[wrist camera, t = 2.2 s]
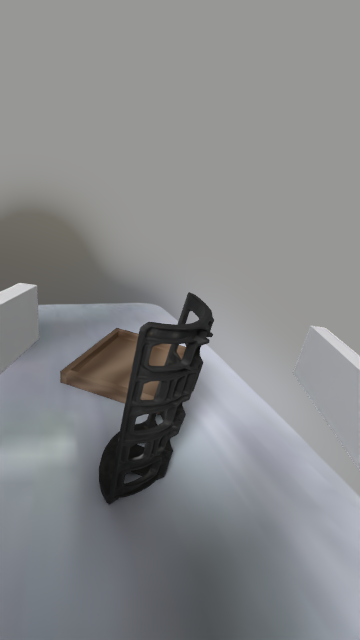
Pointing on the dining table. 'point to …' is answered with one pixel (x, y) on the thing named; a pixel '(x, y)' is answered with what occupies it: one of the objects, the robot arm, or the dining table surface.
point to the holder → (155, 402)
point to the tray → (113, 366)
